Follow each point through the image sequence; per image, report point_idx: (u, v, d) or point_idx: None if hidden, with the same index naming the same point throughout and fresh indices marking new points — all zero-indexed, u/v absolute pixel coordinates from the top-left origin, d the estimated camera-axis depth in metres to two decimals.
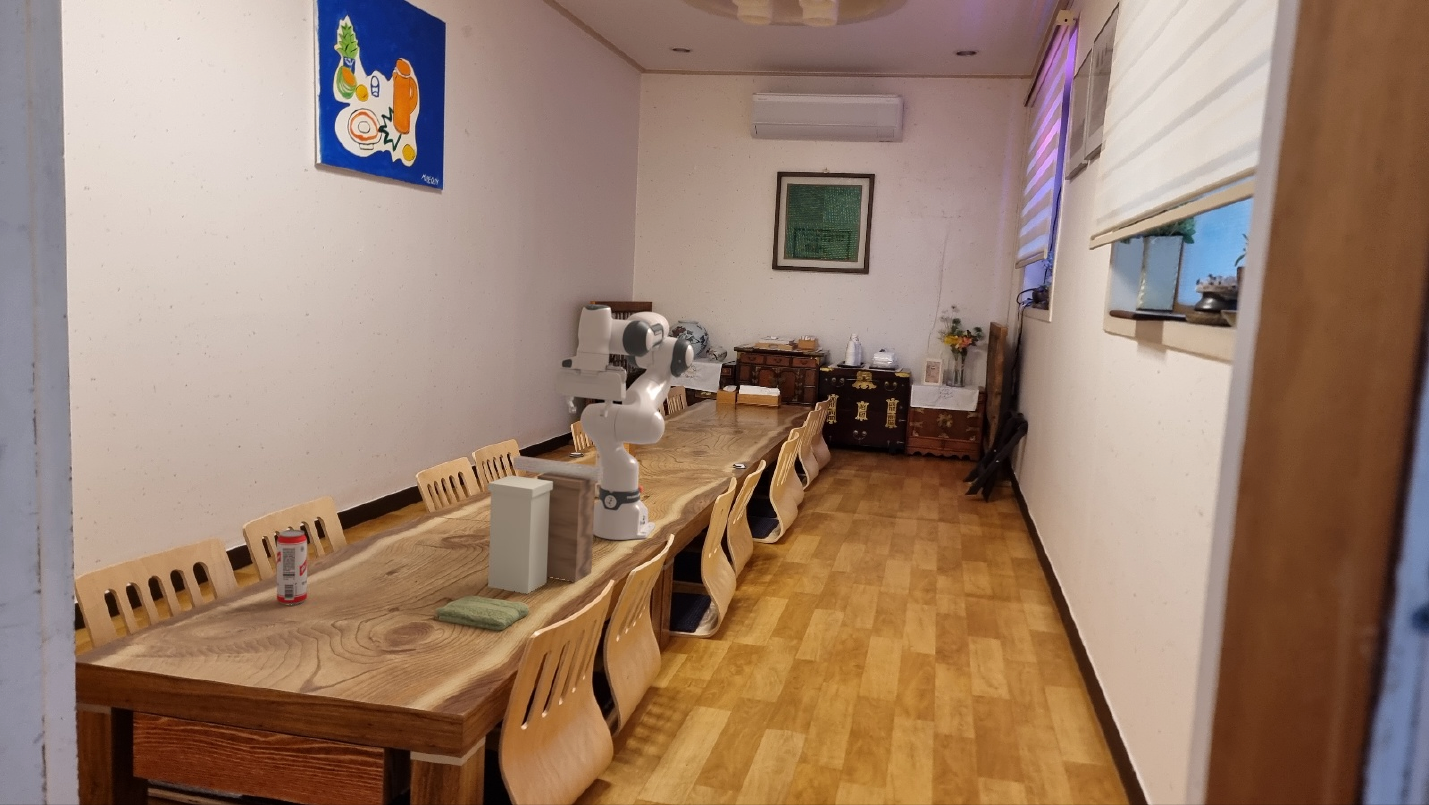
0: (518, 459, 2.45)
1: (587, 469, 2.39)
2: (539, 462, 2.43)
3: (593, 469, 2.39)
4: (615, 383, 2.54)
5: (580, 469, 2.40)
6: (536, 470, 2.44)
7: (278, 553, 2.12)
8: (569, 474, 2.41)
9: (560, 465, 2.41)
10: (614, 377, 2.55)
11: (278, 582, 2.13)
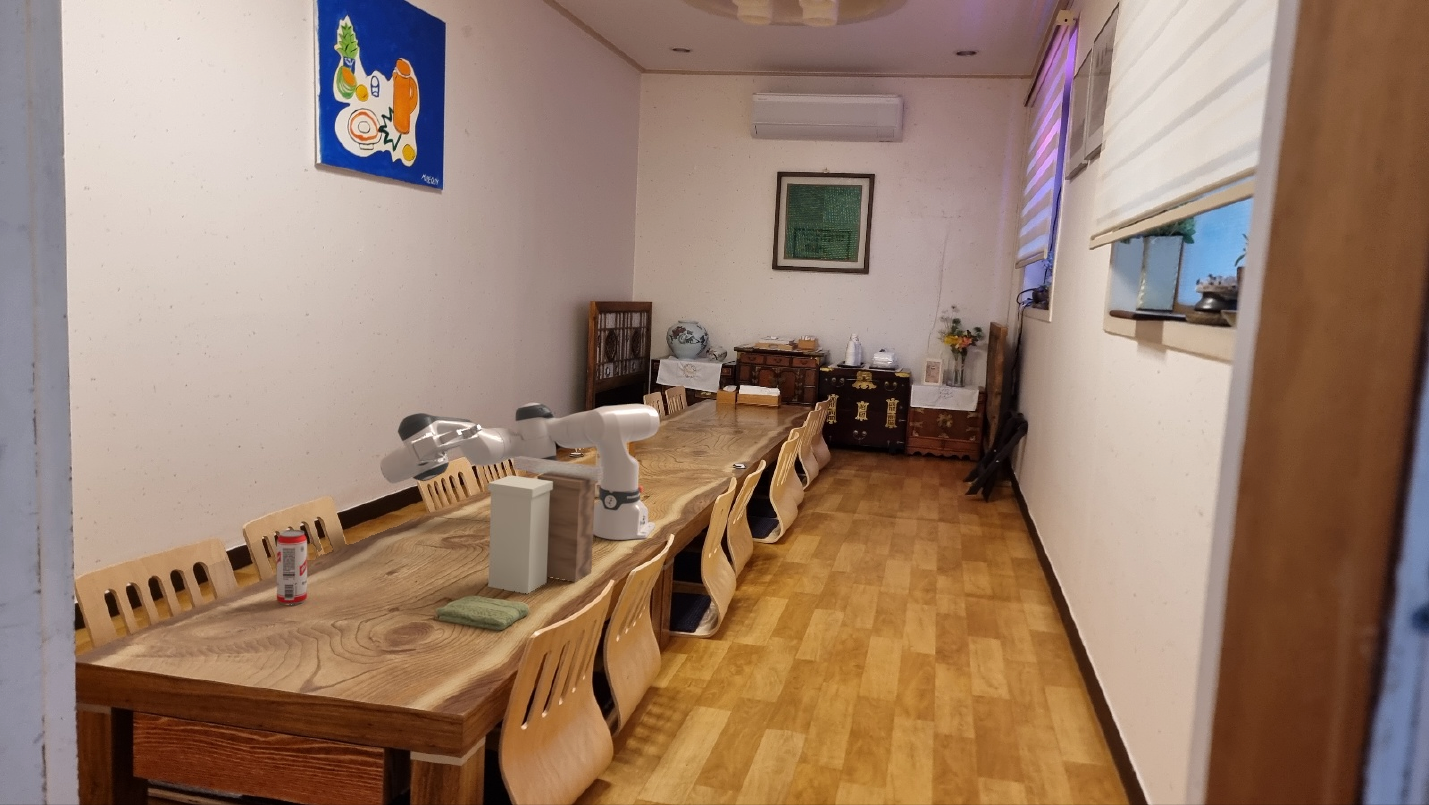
0: (518, 459, 2.45)
1: (587, 469, 2.39)
2: (539, 462, 2.43)
3: (593, 469, 2.39)
4: None
5: (580, 469, 2.40)
6: (536, 470, 2.44)
7: (278, 553, 2.12)
8: (569, 474, 2.41)
9: (560, 465, 2.41)
10: None
11: (278, 582, 2.13)
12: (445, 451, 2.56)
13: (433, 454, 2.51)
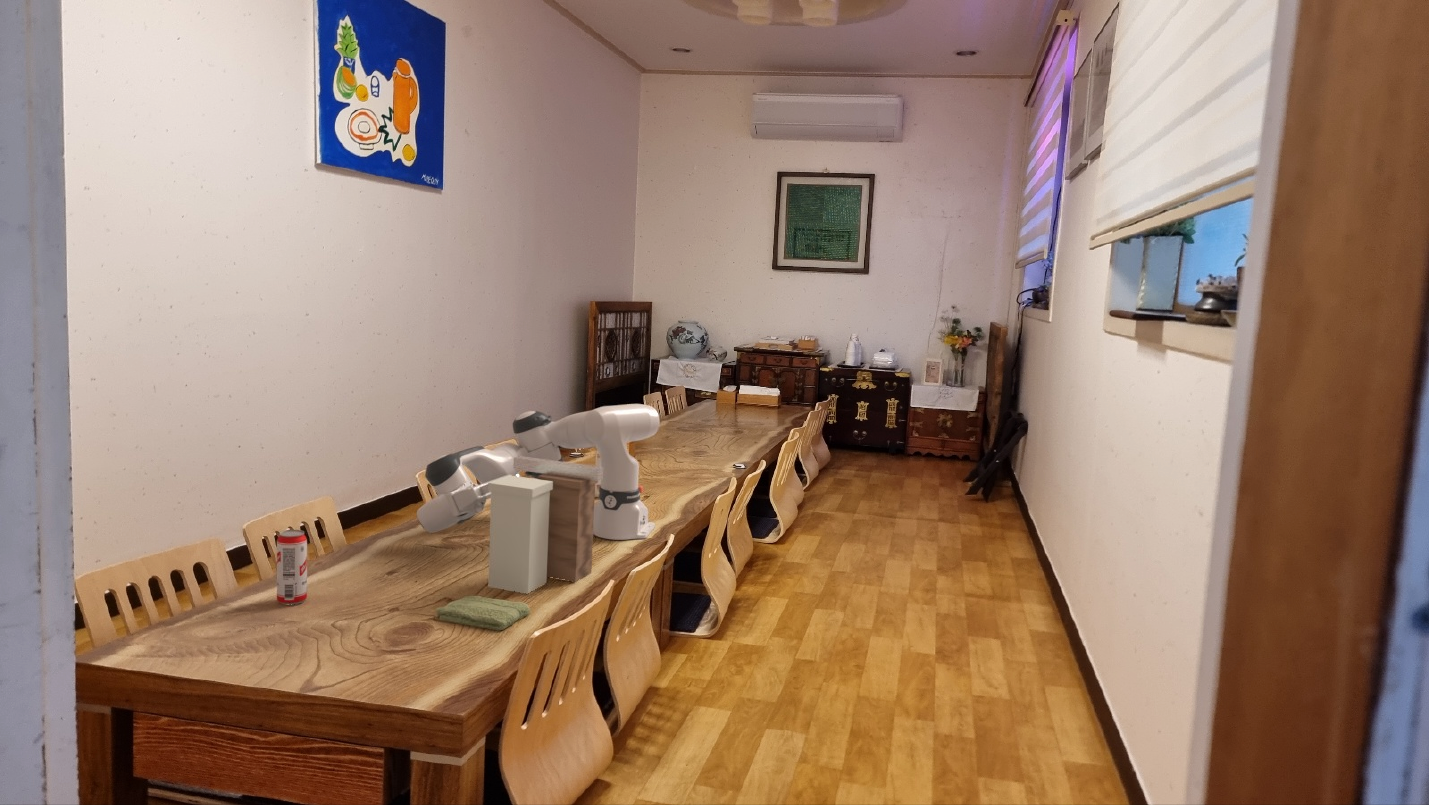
0: (518, 459, 2.45)
1: (587, 469, 2.39)
2: (539, 462, 2.43)
3: (593, 469, 2.39)
4: None
5: (580, 469, 2.40)
6: (536, 470, 2.44)
7: (278, 553, 2.12)
8: (569, 474, 2.41)
9: (560, 465, 2.41)
10: None
11: (278, 582, 2.13)
12: (484, 500, 2.53)
13: (473, 505, 2.48)
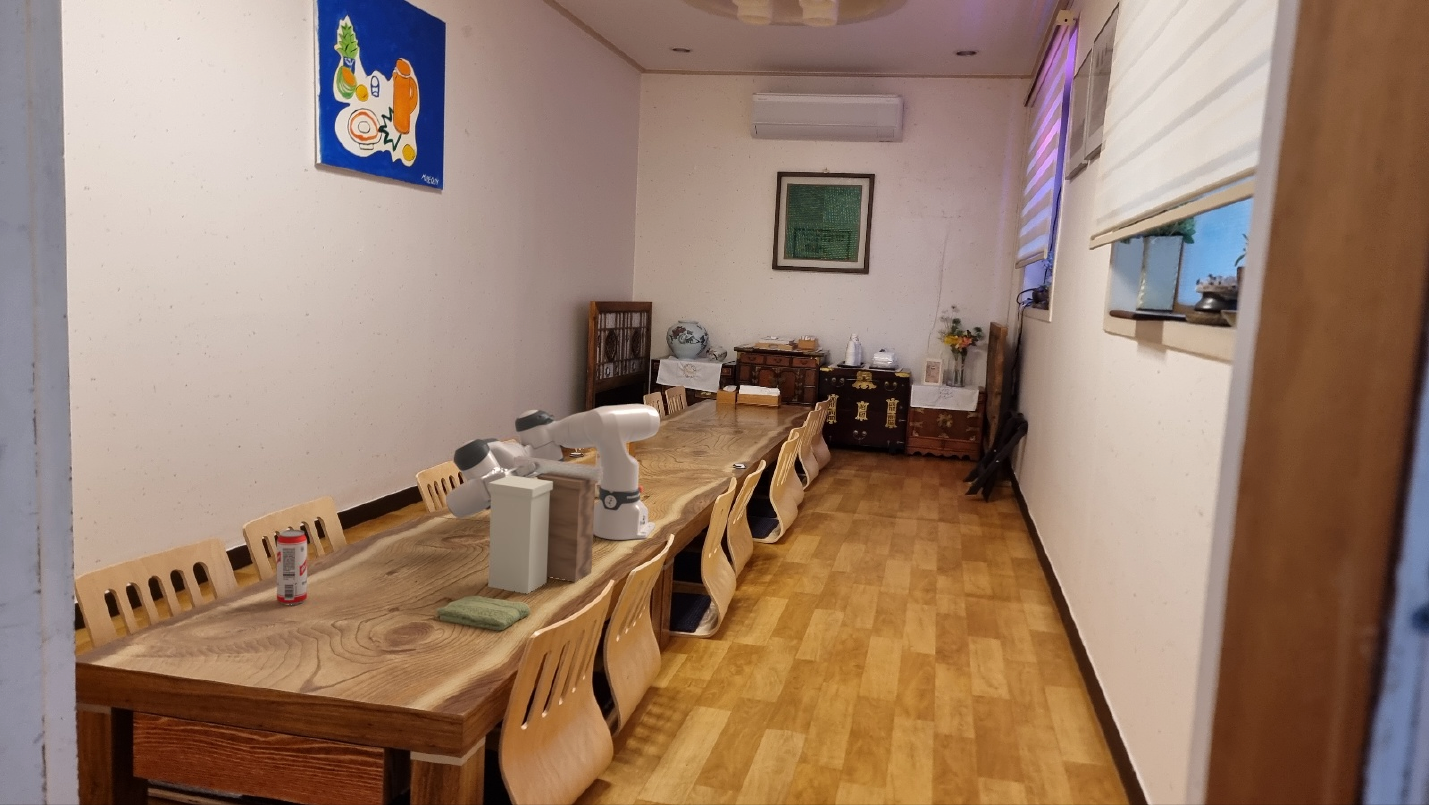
0: (518, 459, 2.45)
1: (587, 469, 2.39)
2: (539, 462, 2.43)
3: (593, 469, 2.39)
4: None
5: (580, 469, 2.40)
6: (536, 470, 2.44)
7: (278, 553, 2.12)
8: (569, 474, 2.41)
9: (560, 465, 2.42)
10: None
11: (278, 582, 2.13)
12: None
13: None
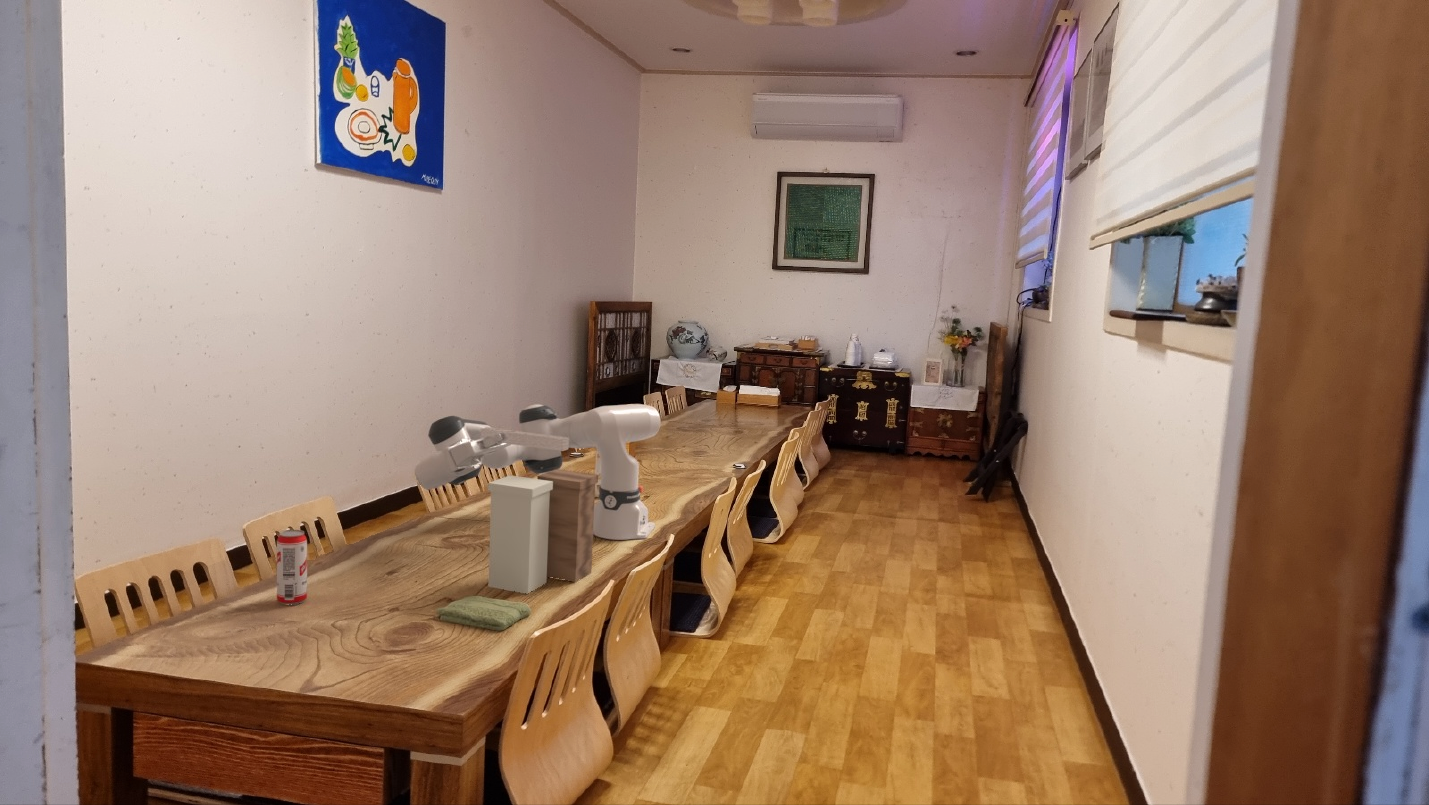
0: (485, 430, 2.48)
1: (552, 439, 2.41)
2: (505, 433, 2.46)
3: (558, 439, 2.41)
4: None
5: (546, 439, 2.42)
6: (503, 441, 2.46)
7: (278, 553, 2.12)
8: (535, 444, 2.43)
9: (526, 435, 2.44)
10: None
11: (278, 582, 2.13)
12: (481, 457, 2.52)
13: (470, 460, 2.47)
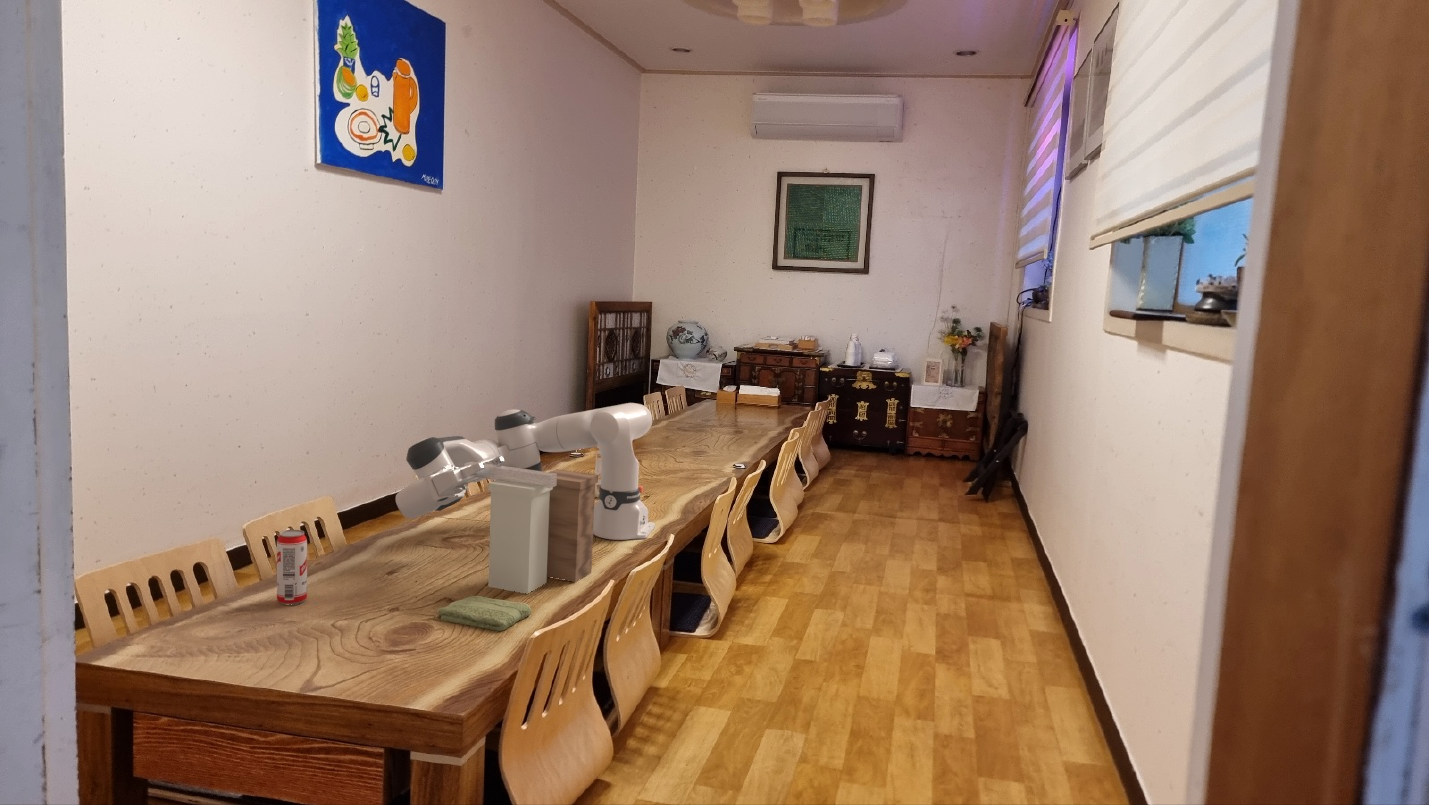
0: None
1: (539, 475, 2.29)
2: (490, 468, 2.33)
3: (545, 476, 2.28)
4: None
5: (532, 476, 2.29)
6: (487, 476, 2.34)
7: (278, 553, 2.12)
8: (521, 481, 2.31)
9: (512, 471, 2.31)
10: None
11: (278, 582, 2.13)
12: (465, 485, 2.39)
13: (453, 489, 2.34)
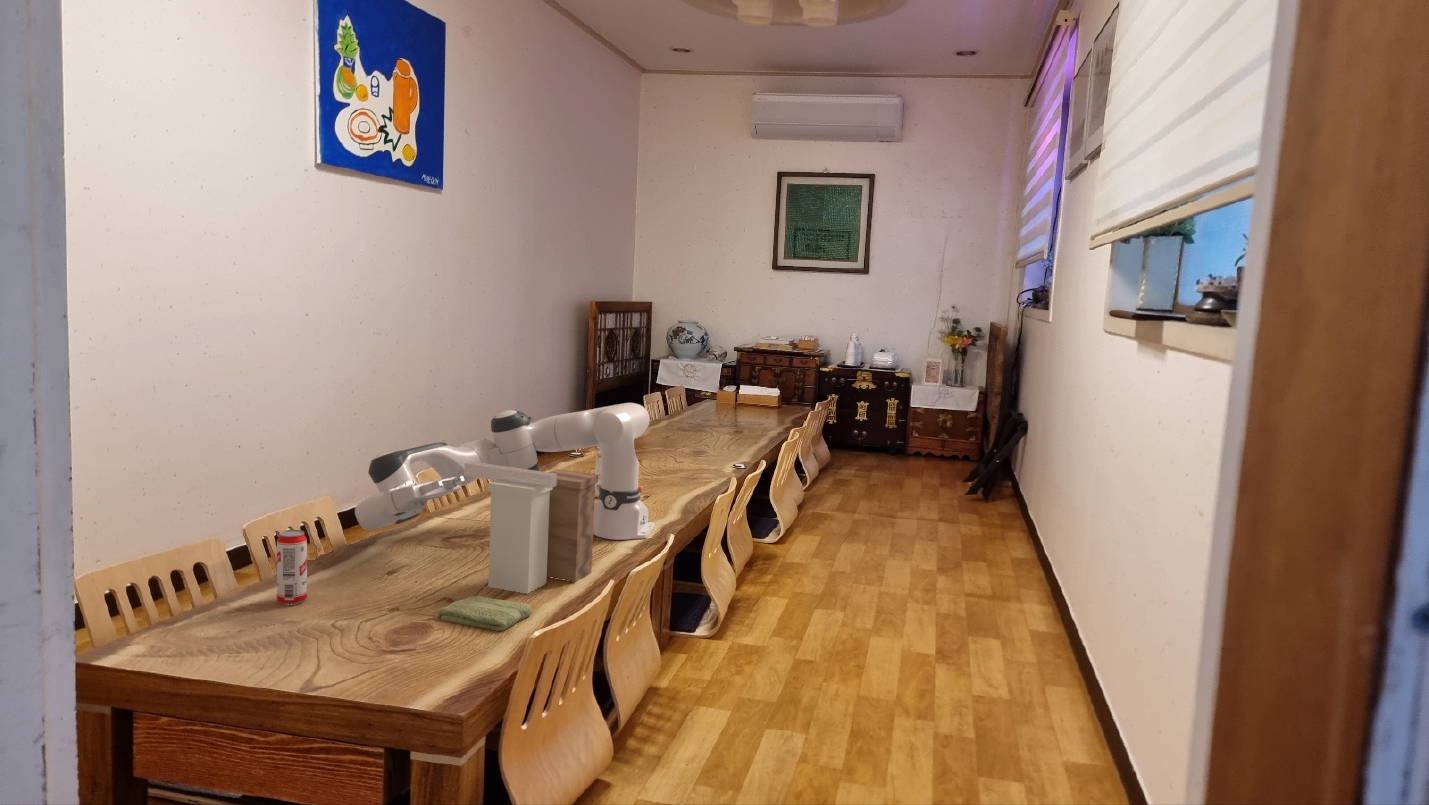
0: (469, 465, 2.35)
1: (539, 475, 2.29)
2: (490, 468, 2.33)
3: (545, 476, 2.28)
4: None
5: (532, 476, 2.29)
6: (487, 476, 2.34)
7: (278, 553, 2.12)
8: (521, 481, 2.31)
9: (512, 471, 2.31)
10: None
11: (278, 582, 2.13)
12: (424, 501, 2.44)
13: (412, 504, 2.39)
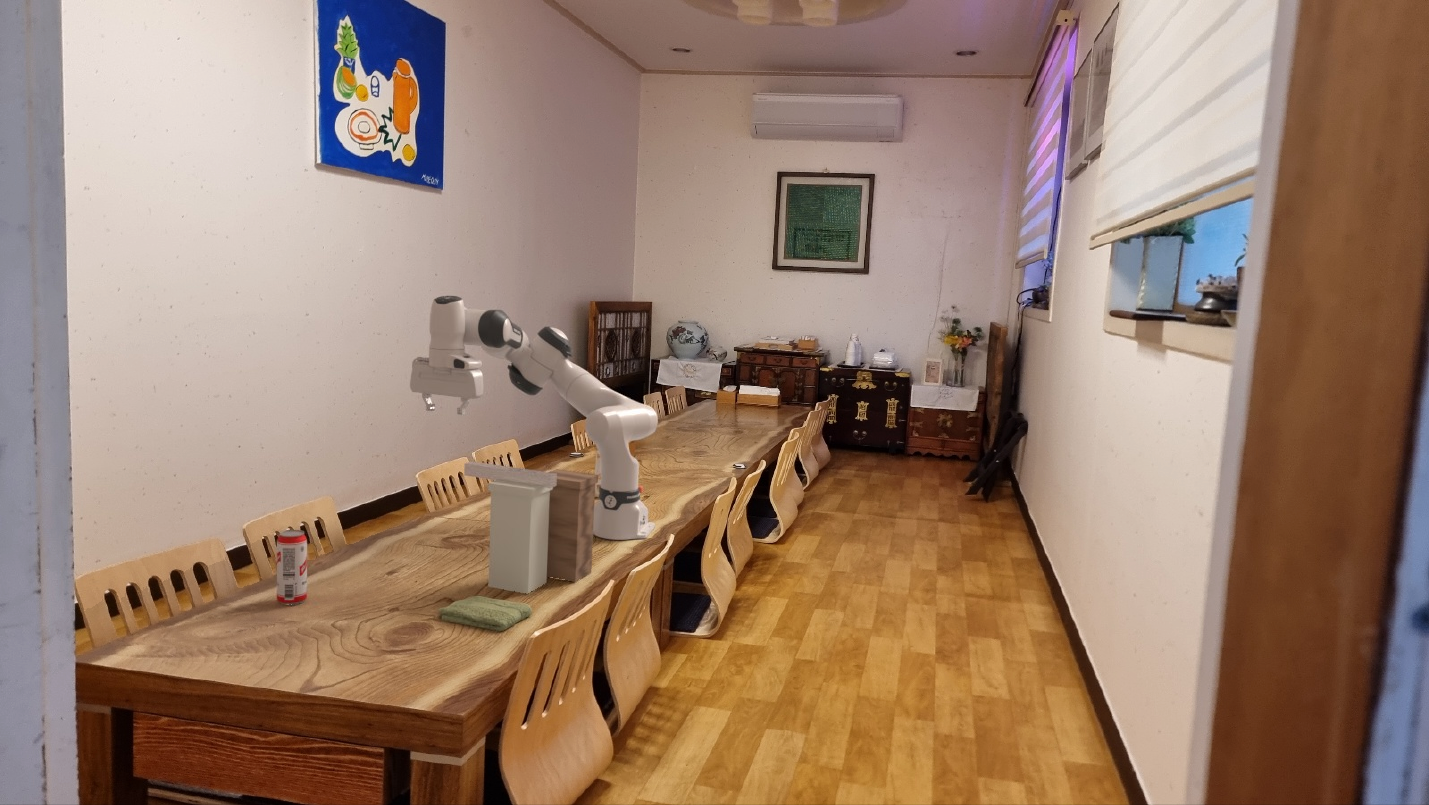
0: (469, 465, 2.35)
1: (539, 475, 2.29)
2: (490, 468, 2.33)
3: (545, 476, 2.28)
4: None
5: (532, 476, 2.29)
6: (487, 476, 2.34)
7: (278, 553, 2.12)
8: (521, 481, 2.31)
9: (512, 471, 2.31)
10: None
11: (278, 582, 2.13)
12: (437, 372, 2.45)
13: (454, 374, 2.43)
